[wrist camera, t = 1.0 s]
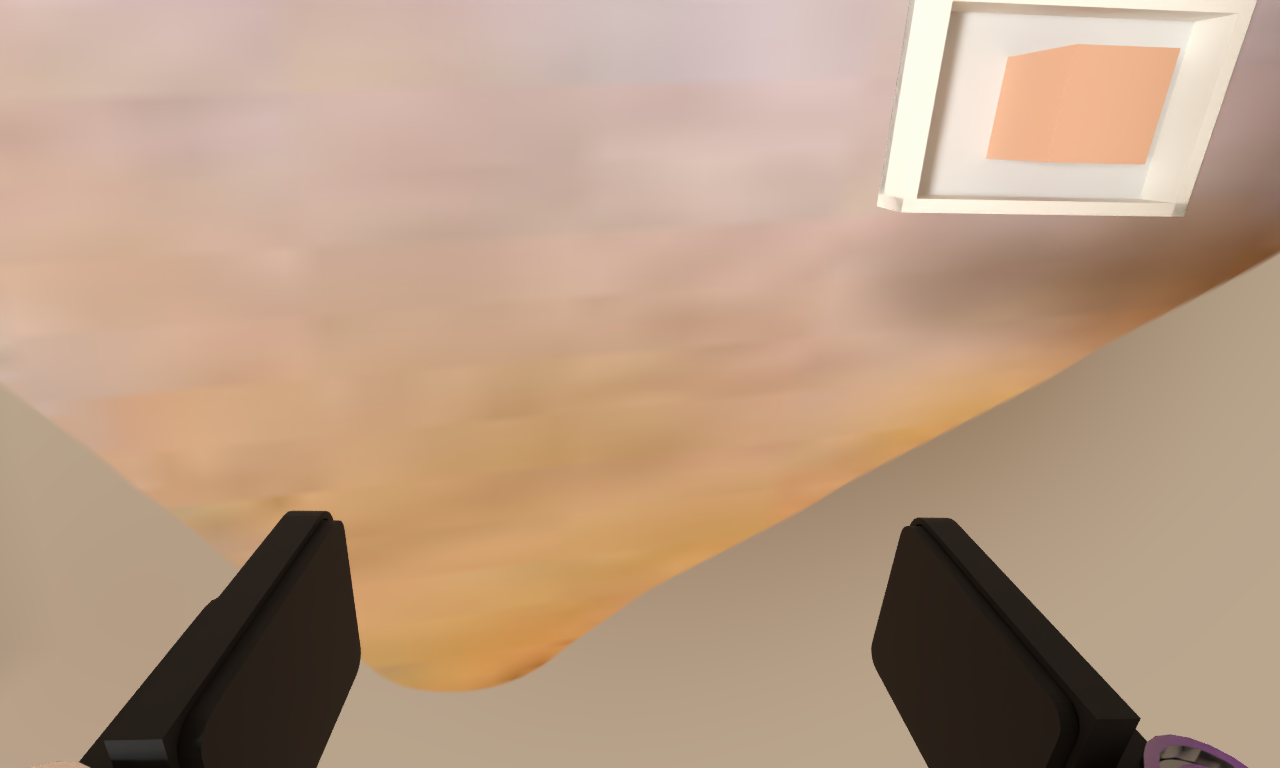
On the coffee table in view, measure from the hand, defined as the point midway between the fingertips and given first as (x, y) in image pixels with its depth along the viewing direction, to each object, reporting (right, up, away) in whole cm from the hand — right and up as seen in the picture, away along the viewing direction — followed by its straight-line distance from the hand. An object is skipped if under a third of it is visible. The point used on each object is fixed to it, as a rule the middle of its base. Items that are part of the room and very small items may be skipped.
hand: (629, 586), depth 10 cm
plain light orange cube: (+22, +18, +23) cm, 37 cm away
